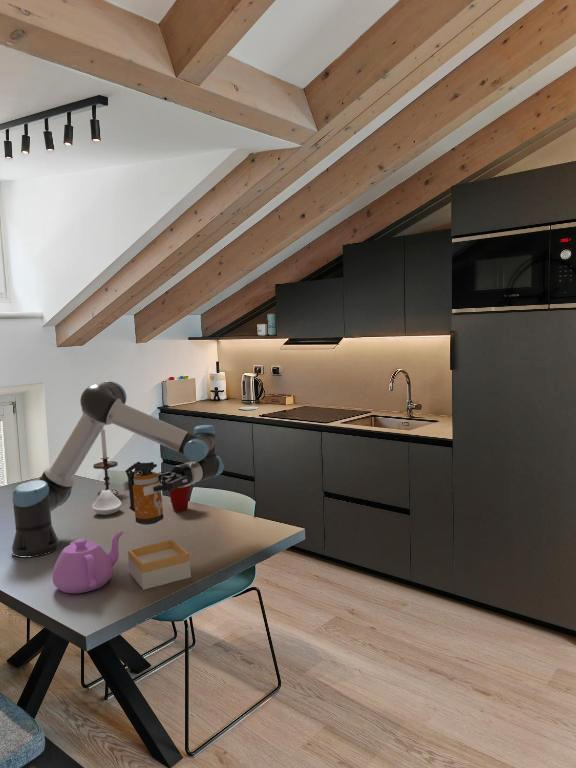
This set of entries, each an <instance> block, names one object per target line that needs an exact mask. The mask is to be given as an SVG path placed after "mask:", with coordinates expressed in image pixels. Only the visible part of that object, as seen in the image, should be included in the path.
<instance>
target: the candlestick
mask: <svg viewBox="0 0 576 768" xmlns="http://www.w3.org/2000/svg"><path fill="white" fill-rule="evenodd" d="M100 438H101V452H102V453H101V454H102V458H100V460H102V461H101V462H97V463H94V464H93V465H92V468H93V469H98V470H104V477H103V481H104V485H105V489H104V490H109V489H110V487H109V485H110V479H111V478H110V476H109V473H108V471H109V469H111V468H115V467H117V466H118V461H112V460H110V461H109V460H108V459H110V457H108V454H107V453H108V452H107V450H108V449H107V442H106V441H107V439H106V429H104V427H103V428H102V430H101V432H100ZM111 490H112V491H113V490H115V491H117V492H118V493H119V490H118V489H110V491H111ZM112 491H111V492H112ZM101 492H102V490H101V491H99V492H97V496H98V495H100V493H101ZM117 492H116V493H117ZM113 494H115V493H113Z"/></svg>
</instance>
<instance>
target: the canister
mask: <svg viewBox="0 0 576 768" xmlns="http://www.w3.org/2000/svg"><path fill="white" fill-rule="evenodd" d="M157 466H158V464H156V463H154V461H151V462H141V461H137V462H135V463H133V464H132V465H130V467H128V468H127V469H125V471H124V472H125V474H126V476H127V482H128V486H129V490H128V492H129V504H130V505H129V507H128V508H129V509H130V510H131V511H132V512H134V516H135V523H137V524H140V525H145V526H146V525H147V526H149V525H155V524H157V523H158V522H160V521H162V520H164V518H165V517H164V509H163V508H164V507H163V497H162V491H160V492H157V493H153V494H150V495H147V496H144V489H143V487H146V486H149V485H153V484H156V483H160V481H158V475H157V473H158V472H156V471H153V470H155V468H157ZM133 470H134V471H133Z"/></svg>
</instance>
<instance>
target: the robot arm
mask: <svg viewBox="0 0 576 768" xmlns="http://www.w3.org/2000/svg"><path fill="white" fill-rule="evenodd" d="M79 401H80V402H79V403H80V406H81V412H82V415H81V417H80V418H79V420H78V421H77V423H76V426H74V429H73V430H72V432H71V434H70V436H69V438H67V441H66V442H65V444H64V445H63V447H62V449H61V450H60V452H59V454H58V456H57V458H56V459H55V461H54V463H53V464H52V465H51V466H49V467H46V468H45V469H44V471H42V472H43V473H42V474H41V475H40V478H39V479H37V480H29V481H26V482H22V483H20V484H19V485H17V486H16V487H15V488H14V489H13V490H12V504H13V505H12V506H13V515H14V516H13V517H14V523H15V524H14V525H15V533H14V537H13V542H12V546H11V550H12V551H11V553H12V552H13V553H12V555H13V554H15V555H18V556H36V555H40V556H42V555H41V554H44V555H46V554H45V553H47V554H49V553H48V552H50V553H52V552H54V551H56V550H57V549H58V548H59V547H58V546H60V545H59V544H60V543H59V542H60V541H59V538H58V535H57V534H56V532H55V530H54V527H53V524H52V513H51V512H53V511H54V510H55V509H57V508H58V507H61V506H62V505H63V504H65V503H66V502H67V501H68V499H69V498H70V496H71V494H72V490H73V489H72V488H73V486H74V485H75V479H74V476H75V474H77V472H78V471H79V468H80V467H81V465H82V464H83V462H84V460H85V458H86V456H87V455H88V453H89V452H90V450H91V448H92V447H93V445H94V444H95V442H96V441H97V438H98V437H99V435H100V434H101V430H102V428H104V426H107V425H111V424H113V425H116V426H117V427H120V428H122V429H125V430H127V431H129V432H131V433H134V434H136V435H138V436H140V437H143V438H146V439H147V440H149V441H152V442H155V443H157V444H159V445H162V446H163V447H165V448H168V449H170V450H172V451H175V452H177V453H180V454H182V455H184V457H185V458H186V460H188V461H189V462H184V463H182V464H178V465H175V466H173V468H172V470H171V471H165V472H164V471H159V472H156V473H157V475H158V481H160V483H156V484H153V485H149V486H146V487H143V489H144V496H147V495H150V494H153V493H157V492H160V491H161V492H162V491H163V492H165V491H167V492H169V491H171V490H174V489H176V488H178V487H183V486H186V485H189V484H191V485H195V483H198V482H201V481H205V480H208V479H213V478H215V477H218V476H219V475H221V474H222V473H223V471H224V468H225V465H224V464H225V463H224V462H223V459H222V457H220V456H219V455H217V447H216V445H217V444H216V434H217V433H216V432H215V426H214V425H211V424H202V425H197V426H195V427H194V428H193V433H191V432H188V431H186V430H184V429H182V428H180V427H177V426H175V425H173V424H170V423H168V422H166V421H164V420H161V419H160V418H157V417H154V416H152V415H150V414H148V413H146V412H144V411H141V410H138V409H136V408H134V407H131V406H129V405H127V404H126V403H127V393H126V391H125V389H124V387H123V386H122V385H121V384H119V383H117V382H115V381H111V380H110V381H109V380H106V381H102V382H99V383H96V384H93V385H90V386H87V388H85V389H84V390H83V392H82V393H81V395H80V400H79ZM122 490H123V491H124V492H126V491H129V486H128V481H124V482H123V483H122ZM57 547H58V548H57ZM56 548H57V549H56ZM55 549H56V550H55ZM53 550H54V551H53ZM51 551H52V552H51ZM36 557H37V556H36Z"/></svg>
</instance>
